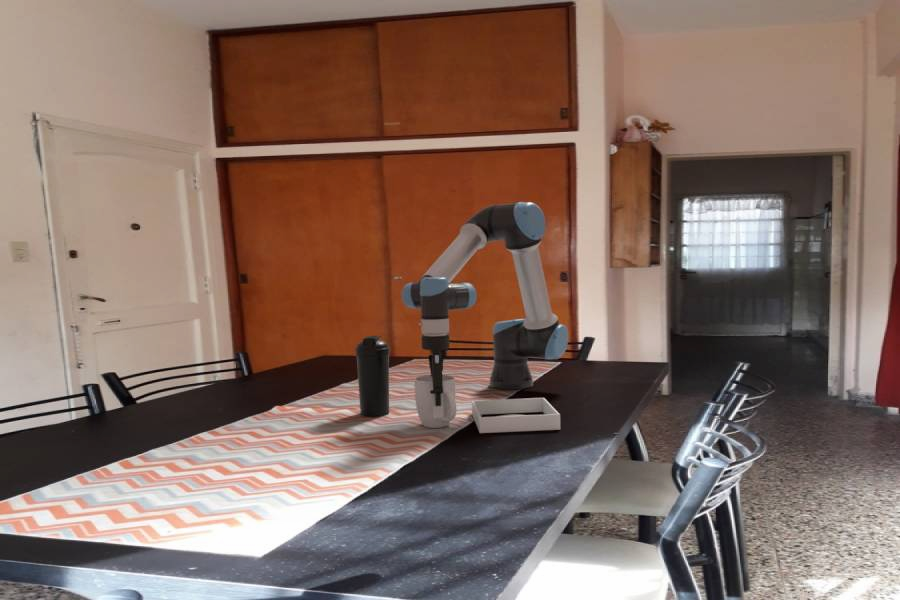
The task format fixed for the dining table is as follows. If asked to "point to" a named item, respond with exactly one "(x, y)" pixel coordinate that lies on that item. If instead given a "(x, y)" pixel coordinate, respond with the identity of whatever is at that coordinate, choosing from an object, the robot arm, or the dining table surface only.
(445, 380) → the mug
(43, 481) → the dining table surface
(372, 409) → the water bottle
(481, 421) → the white shallow tray
